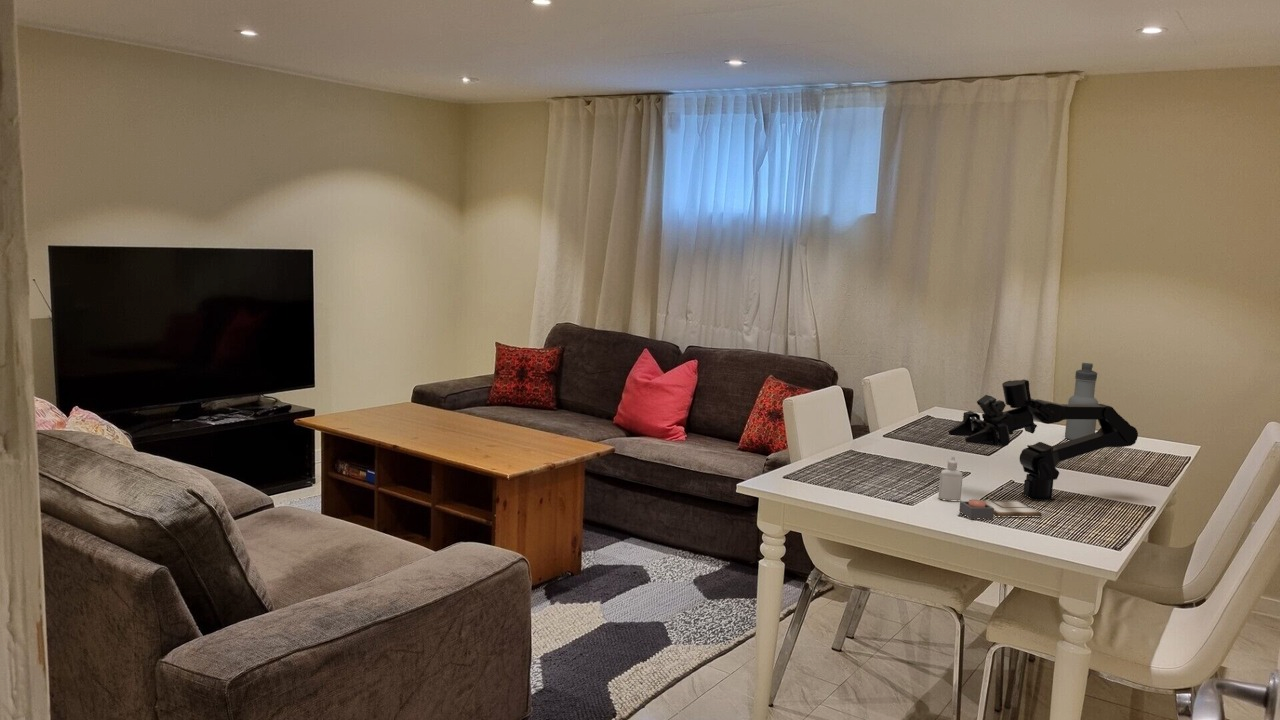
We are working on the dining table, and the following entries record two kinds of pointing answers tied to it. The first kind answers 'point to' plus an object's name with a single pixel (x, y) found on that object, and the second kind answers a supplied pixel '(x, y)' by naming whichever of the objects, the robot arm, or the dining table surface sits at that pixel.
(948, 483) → the eye dropper bottle
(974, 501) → the button
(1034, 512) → the board
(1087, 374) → the water bottle
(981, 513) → the button housing
